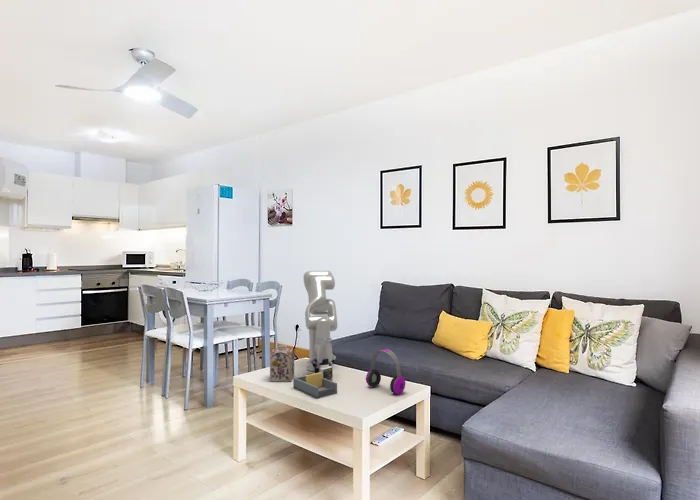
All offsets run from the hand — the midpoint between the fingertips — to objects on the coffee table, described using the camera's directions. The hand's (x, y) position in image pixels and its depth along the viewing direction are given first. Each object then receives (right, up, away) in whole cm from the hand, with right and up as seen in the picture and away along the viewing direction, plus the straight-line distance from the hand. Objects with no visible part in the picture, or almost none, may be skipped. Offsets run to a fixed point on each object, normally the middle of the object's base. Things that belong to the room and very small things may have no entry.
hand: (323, 373), depth 232 cm
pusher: (-5, -2, -16) cm, 17 cm away
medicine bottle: (0, -4, 0) cm, 4 cm away
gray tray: (-3, -3, -18) cm, 19 cm away
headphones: (+32, -3, -18) cm, 37 cm away
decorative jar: (-23, -4, +3) cm, 23 cm away
